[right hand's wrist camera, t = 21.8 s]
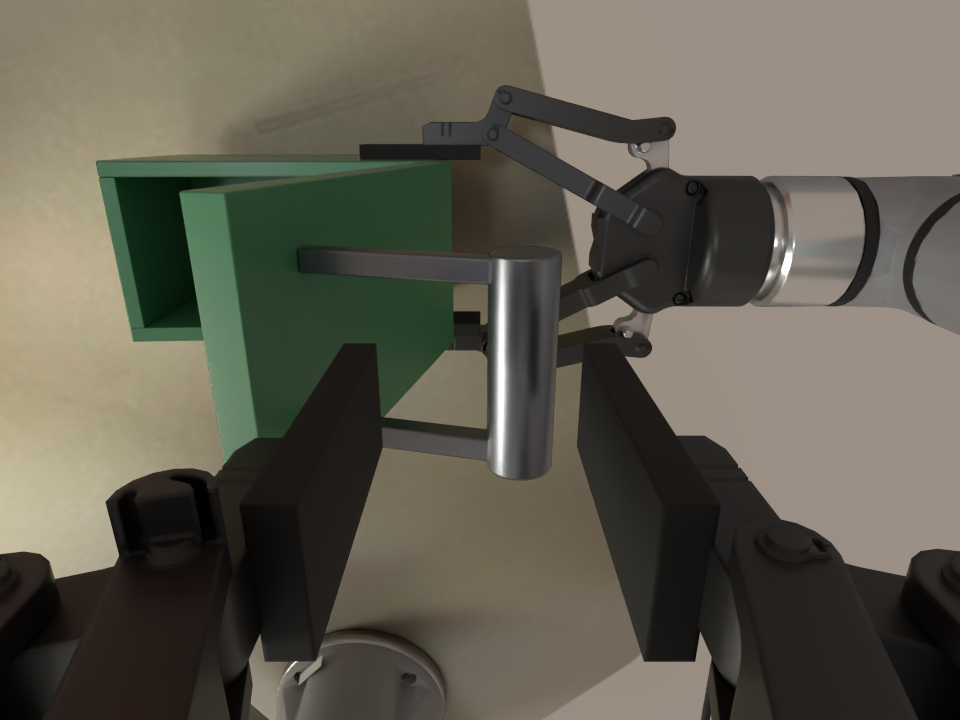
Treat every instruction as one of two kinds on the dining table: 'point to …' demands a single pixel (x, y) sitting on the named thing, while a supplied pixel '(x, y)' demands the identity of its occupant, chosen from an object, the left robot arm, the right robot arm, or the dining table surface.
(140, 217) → the chest
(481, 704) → the dining table surface
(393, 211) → the lid
